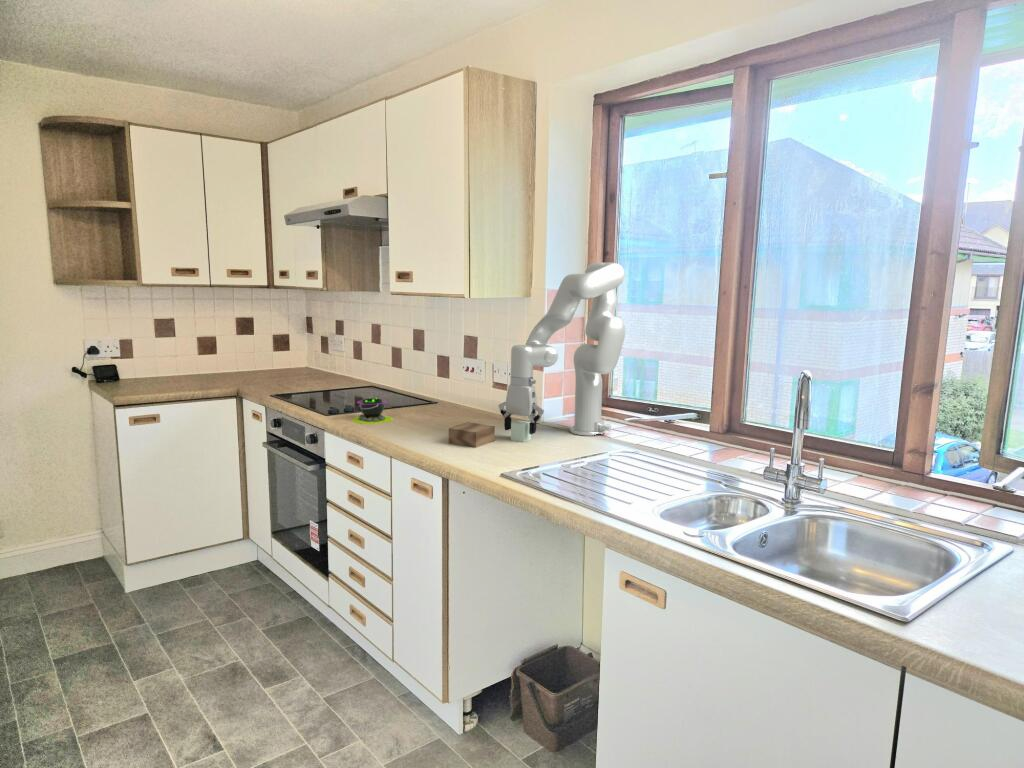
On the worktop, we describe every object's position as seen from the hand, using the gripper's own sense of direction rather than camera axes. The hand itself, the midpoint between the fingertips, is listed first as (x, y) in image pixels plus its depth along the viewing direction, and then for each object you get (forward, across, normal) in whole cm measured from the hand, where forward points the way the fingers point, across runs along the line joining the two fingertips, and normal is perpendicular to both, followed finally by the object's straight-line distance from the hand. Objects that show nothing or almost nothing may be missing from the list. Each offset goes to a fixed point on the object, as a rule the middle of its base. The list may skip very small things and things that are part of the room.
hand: (520, 431), depth 226 cm
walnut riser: (+3, +12, +12) cm, 17 cm away
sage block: (+3, 0, 0) cm, 3 cm away
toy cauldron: (+4, +63, +5) cm, 64 cm away
